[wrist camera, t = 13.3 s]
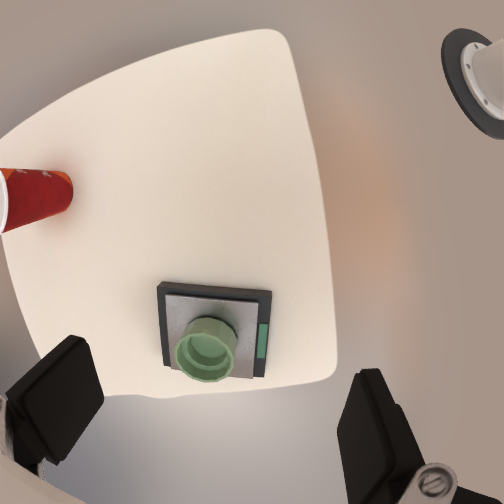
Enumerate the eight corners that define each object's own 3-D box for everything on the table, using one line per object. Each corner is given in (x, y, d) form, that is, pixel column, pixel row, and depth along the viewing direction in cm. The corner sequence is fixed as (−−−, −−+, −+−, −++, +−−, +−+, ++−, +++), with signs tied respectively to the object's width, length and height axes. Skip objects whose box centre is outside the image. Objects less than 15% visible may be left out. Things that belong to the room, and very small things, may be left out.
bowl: (238, 318, 33) (234, 336, 29) (236, 365, 35) (232, 385, 30) (182, 312, 33) (172, 329, 29) (185, 359, 35) (176, 378, 31)
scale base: (271, 290, 35) (271, 297, 33) (264, 369, 38) (264, 379, 36) (162, 281, 36) (155, 287, 33) (167, 358, 39) (162, 366, 36)
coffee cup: (67, 152, 32) (-12, 149, 18) (87, 202, 34) (6, 218, 19) (34, 184, 34) (-39, 193, 19) (52, 230, 35) (-22, 254, 21)
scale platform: (258, 301, 33) (258, 303, 32) (252, 376, 36) (252, 378, 35) (166, 293, 33) (165, 294, 33) (172, 366, 36) (171, 368, 35)
